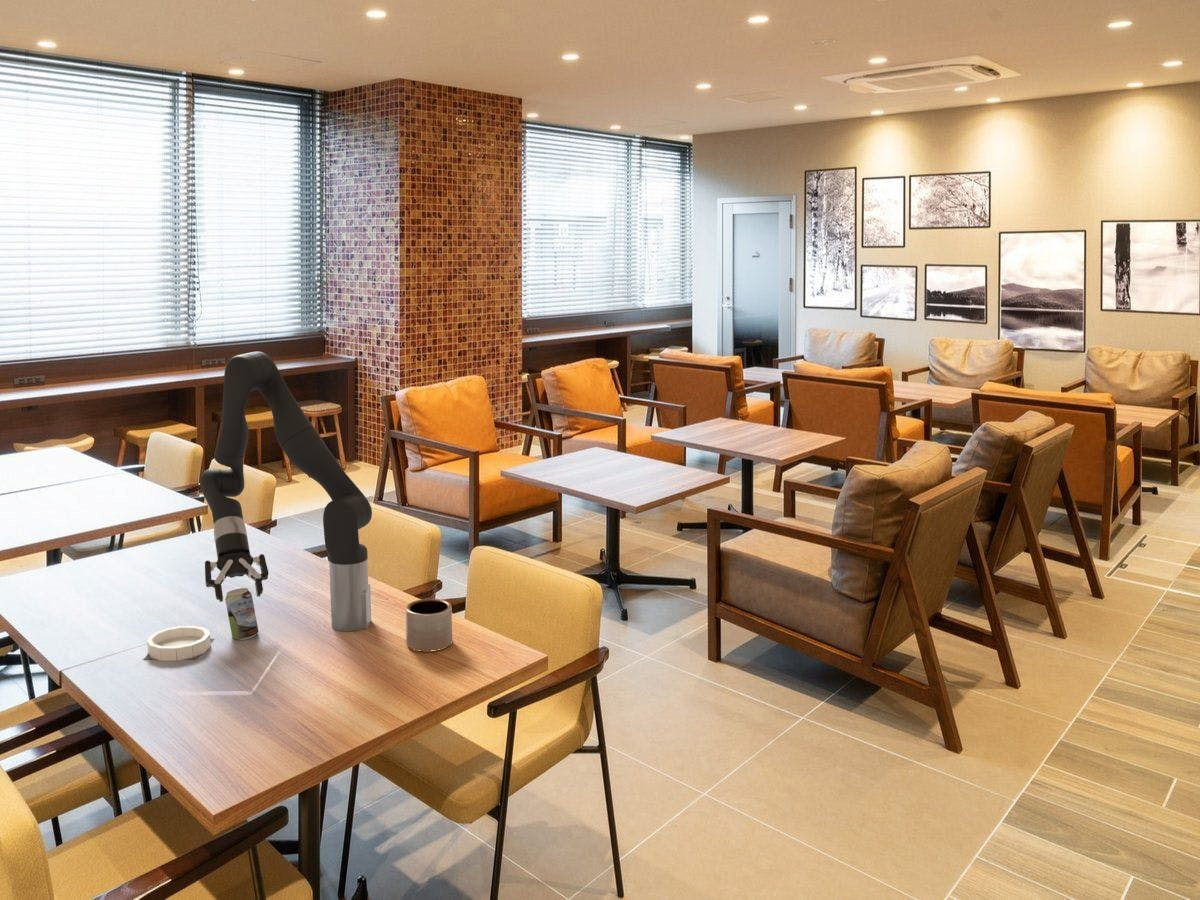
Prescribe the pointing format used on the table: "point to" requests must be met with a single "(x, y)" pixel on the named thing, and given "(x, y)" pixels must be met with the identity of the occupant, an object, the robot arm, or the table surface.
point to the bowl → (178, 643)
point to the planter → (428, 624)
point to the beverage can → (241, 614)
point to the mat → (183, 659)
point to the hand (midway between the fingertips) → (240, 597)
